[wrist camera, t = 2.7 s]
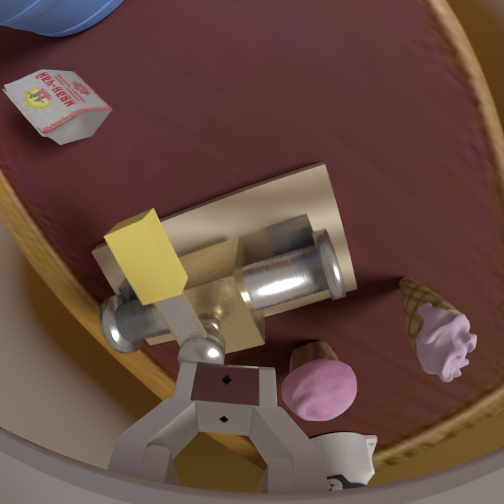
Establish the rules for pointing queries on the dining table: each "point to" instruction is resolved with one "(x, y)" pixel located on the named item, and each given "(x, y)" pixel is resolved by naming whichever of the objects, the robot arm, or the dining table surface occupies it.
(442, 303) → the ice cream cone
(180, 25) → the dining table surface
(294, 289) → the valve assembly
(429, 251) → the dining table surface
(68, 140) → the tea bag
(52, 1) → the water jug
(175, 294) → the lever
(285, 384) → the cupcake
